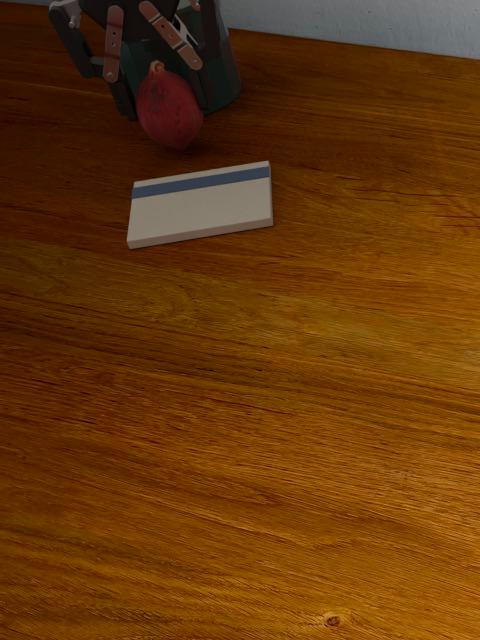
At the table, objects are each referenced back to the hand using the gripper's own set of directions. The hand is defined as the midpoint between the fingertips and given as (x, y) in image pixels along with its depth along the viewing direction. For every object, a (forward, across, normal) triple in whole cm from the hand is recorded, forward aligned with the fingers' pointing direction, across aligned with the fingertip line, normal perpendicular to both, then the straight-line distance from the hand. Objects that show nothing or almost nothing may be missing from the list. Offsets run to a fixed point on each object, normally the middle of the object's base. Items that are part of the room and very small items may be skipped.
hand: (169, 111), depth 96 cm
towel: (+4, -2, +11) cm, 12 cm away
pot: (+4, 0, -12) cm, 13 cm away
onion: (+4, 0, 0) cm, 4 cm away
